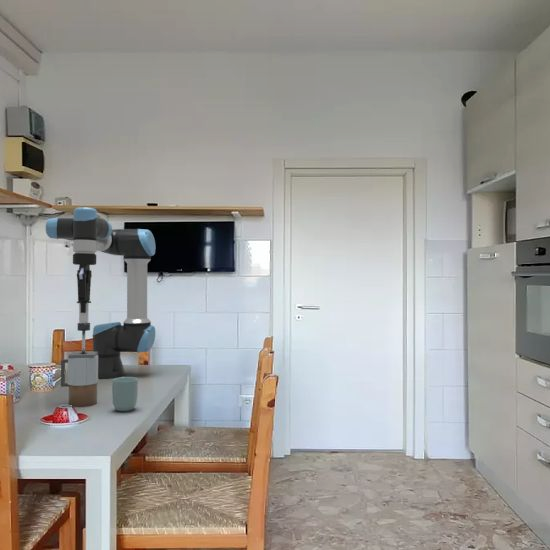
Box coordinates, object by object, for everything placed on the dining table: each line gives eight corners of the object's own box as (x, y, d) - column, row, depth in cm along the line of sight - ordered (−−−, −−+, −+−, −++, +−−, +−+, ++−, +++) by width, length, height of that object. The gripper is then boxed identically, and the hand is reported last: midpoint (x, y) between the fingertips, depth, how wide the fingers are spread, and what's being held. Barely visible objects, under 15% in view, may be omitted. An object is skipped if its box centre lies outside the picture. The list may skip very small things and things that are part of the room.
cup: (130, 413, 155) (130, 381, 155) (107, 412, 157) (107, 380, 157) (141, 407, 163) (142, 377, 163) (119, 406, 164) (120, 376, 165)
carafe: (64, 401, 171) (64, 351, 171) (98, 400, 173) (99, 351, 173) (57, 407, 162) (58, 355, 163) (94, 406, 164) (95, 354, 165)
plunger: (74, 362, 171) (75, 322, 171) (95, 361, 172) (96, 322, 172) (70, 365, 164) (70, 324, 164) (92, 364, 165) (92, 323, 166)
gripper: (77, 254, 175) (76, 321, 174) (68, 251, 162) (67, 324, 161) (99, 254, 176) (98, 321, 175) (92, 252, 163) (91, 323, 163)
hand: (83, 322), depth 168 cm, fingers closed
